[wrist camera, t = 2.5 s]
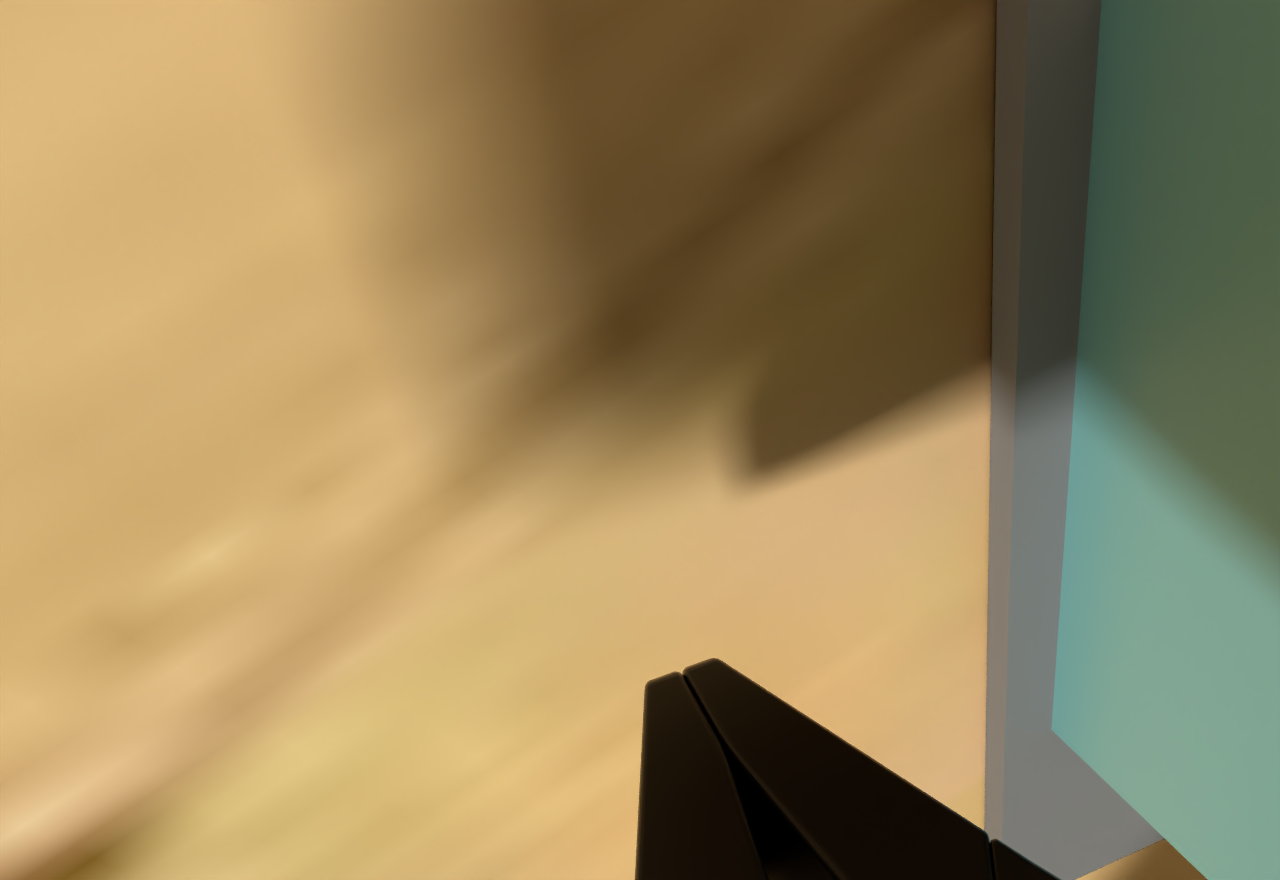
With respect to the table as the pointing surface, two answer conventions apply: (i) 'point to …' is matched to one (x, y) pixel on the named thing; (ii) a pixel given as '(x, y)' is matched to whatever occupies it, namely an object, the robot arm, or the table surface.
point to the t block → (1180, 434)
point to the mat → (1039, 438)
